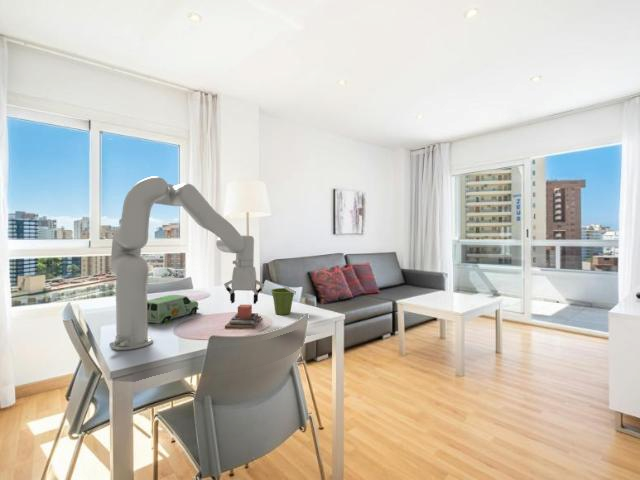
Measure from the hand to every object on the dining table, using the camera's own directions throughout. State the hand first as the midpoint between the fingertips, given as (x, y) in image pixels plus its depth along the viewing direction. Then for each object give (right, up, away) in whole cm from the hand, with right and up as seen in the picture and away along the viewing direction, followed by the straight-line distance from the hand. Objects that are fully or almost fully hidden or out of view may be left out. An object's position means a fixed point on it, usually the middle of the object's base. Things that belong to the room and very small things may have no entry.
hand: (244, 302), depth 145 cm
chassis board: (0, -8, -1) cm, 9 cm away
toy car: (-34, -8, +6) cm, 36 cm away
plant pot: (+15, -8, +16) cm, 23 cm away
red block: (0, -7, +1) cm, 7 cm away
